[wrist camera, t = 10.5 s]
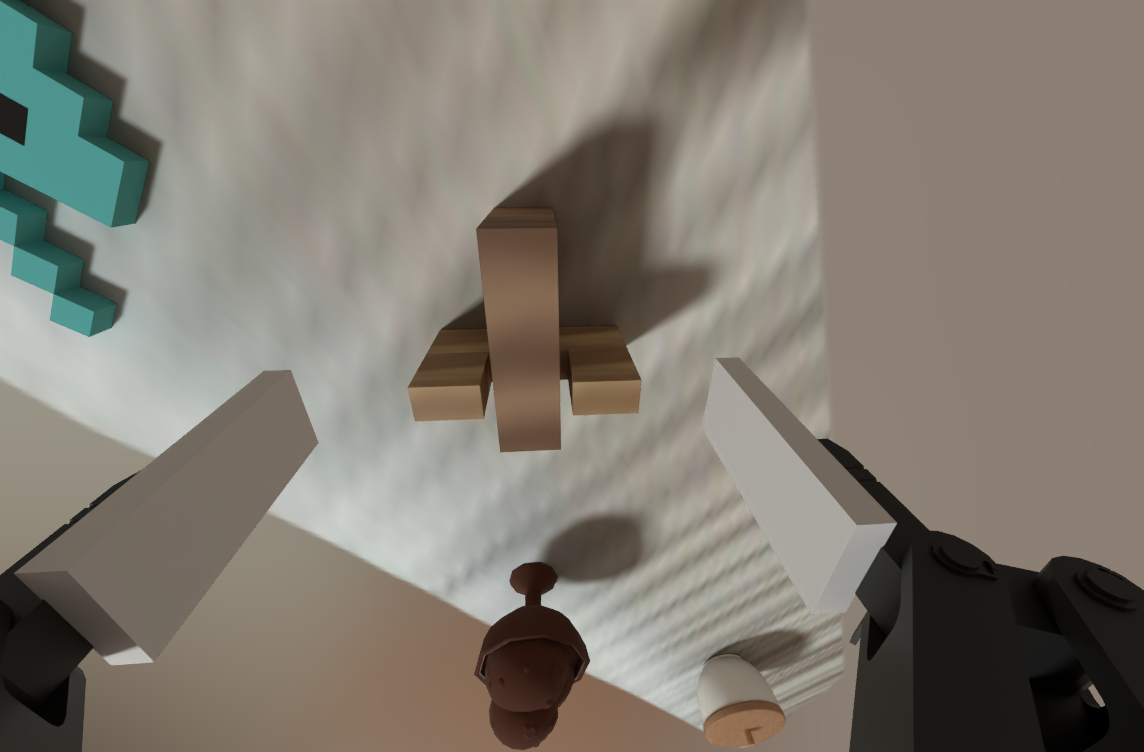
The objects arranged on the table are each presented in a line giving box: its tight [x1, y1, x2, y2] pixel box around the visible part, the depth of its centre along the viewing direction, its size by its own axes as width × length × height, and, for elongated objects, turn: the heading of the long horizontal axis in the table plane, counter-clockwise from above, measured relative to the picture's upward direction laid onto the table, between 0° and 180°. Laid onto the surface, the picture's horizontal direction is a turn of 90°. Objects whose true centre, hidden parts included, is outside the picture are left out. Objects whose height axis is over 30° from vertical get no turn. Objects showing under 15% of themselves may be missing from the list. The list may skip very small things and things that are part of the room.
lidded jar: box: [697, 654, 786, 747], centre depth 56 cm, size 11×11×9 cm
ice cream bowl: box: [474, 562, 590, 750], centre depth 41 cm, size 11×11×15 cm
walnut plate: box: [476, 207, 561, 452], centre depth 27 cm, size 14×4×9 cm, turn 0°
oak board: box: [408, 326, 641, 421], centre depth 29 cm, size 2×14×9 cm, turn 90°
